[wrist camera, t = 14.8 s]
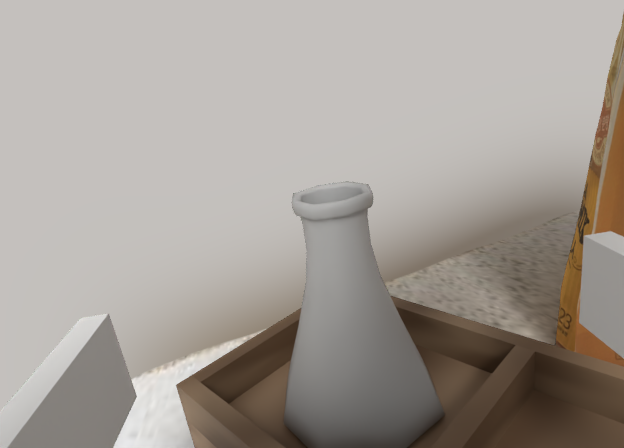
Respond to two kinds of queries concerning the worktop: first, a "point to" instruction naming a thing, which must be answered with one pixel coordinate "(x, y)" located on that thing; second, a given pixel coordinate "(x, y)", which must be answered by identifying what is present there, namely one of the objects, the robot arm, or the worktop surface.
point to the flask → (351, 337)
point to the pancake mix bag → (597, 212)
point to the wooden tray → (447, 382)
